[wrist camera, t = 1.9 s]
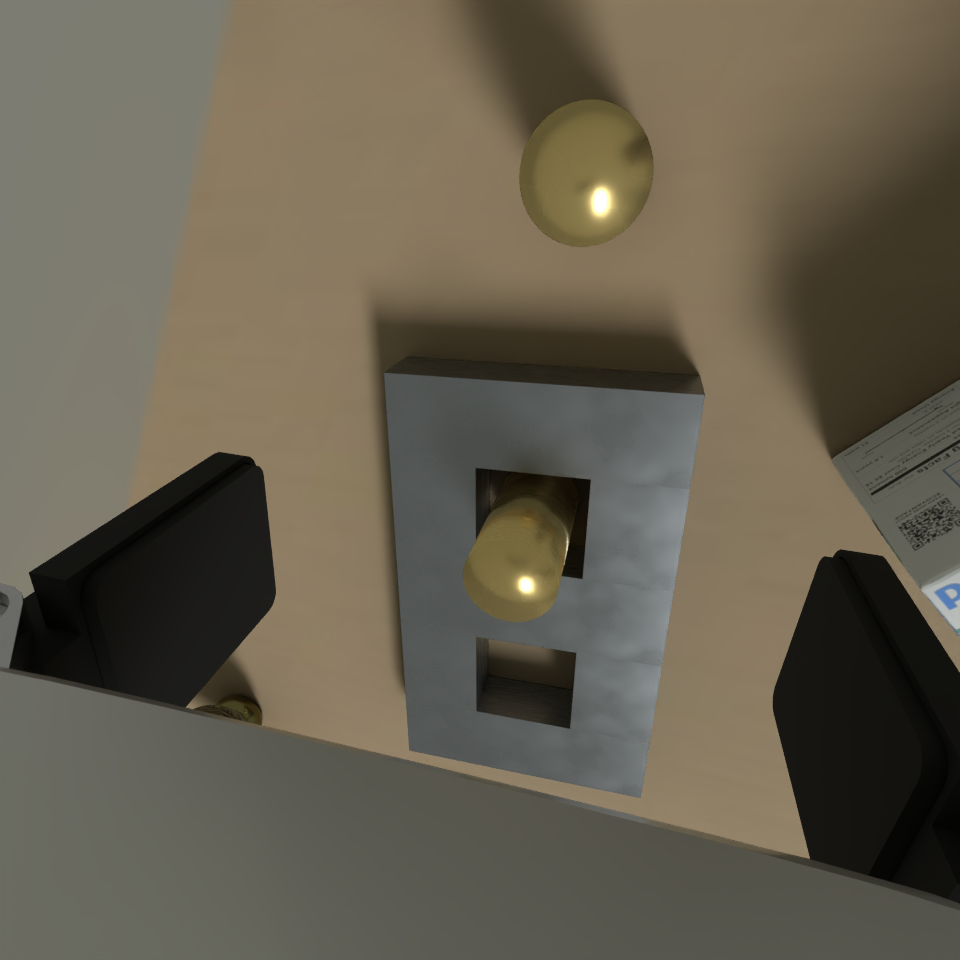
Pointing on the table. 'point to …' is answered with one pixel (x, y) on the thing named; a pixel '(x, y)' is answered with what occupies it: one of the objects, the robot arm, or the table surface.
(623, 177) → the brass cylinder
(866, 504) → the light bulb box
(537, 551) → the seated bushing
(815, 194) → the table surface
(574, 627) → the jig
